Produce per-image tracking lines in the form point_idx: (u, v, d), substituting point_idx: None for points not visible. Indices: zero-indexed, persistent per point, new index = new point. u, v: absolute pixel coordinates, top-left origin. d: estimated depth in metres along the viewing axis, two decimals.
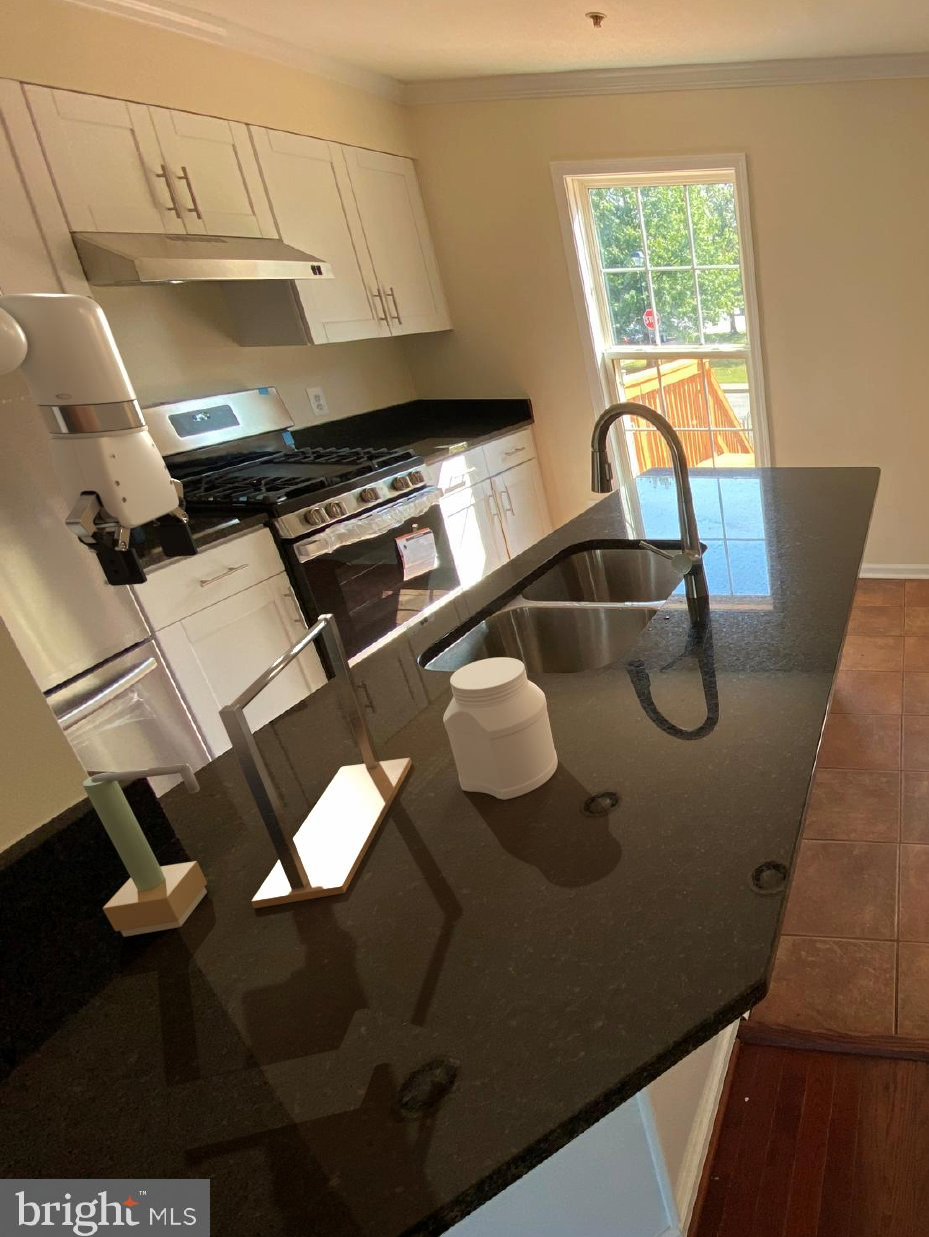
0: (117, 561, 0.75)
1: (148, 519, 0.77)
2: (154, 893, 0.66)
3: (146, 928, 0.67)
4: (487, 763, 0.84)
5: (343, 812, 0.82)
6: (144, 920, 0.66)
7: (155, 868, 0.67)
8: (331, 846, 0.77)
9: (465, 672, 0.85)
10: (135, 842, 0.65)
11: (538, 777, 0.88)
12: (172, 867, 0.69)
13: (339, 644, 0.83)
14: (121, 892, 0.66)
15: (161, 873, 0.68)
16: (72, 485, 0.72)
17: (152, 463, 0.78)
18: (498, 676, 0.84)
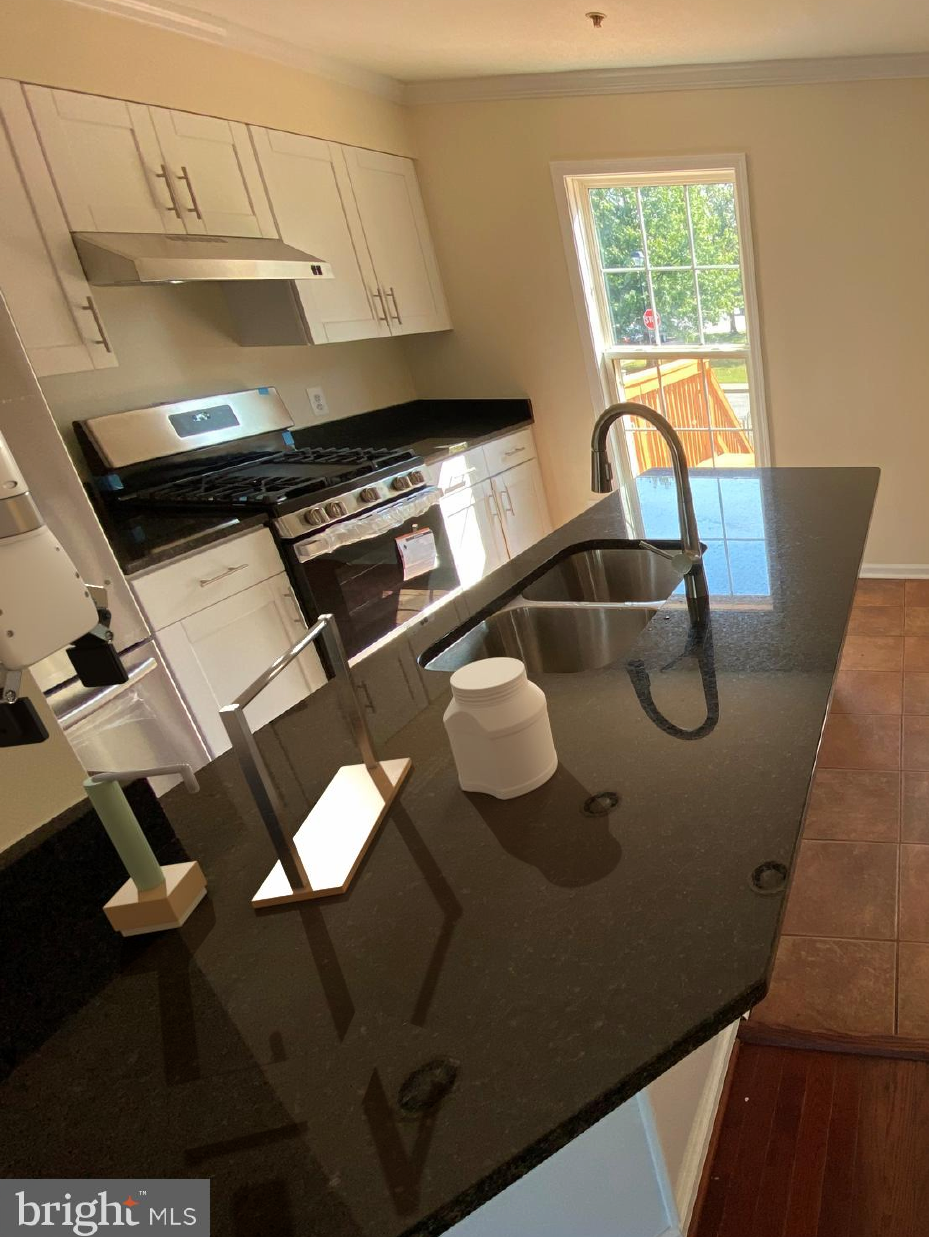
0: (3, 717, 0.54)
1: (50, 652, 0.57)
2: (154, 893, 0.66)
3: (146, 928, 0.67)
4: (487, 763, 0.84)
5: (343, 812, 0.82)
6: (144, 920, 0.66)
7: (155, 868, 0.67)
8: (331, 846, 0.77)
9: (465, 672, 0.85)
10: (135, 842, 0.65)
11: (538, 777, 0.88)
12: (172, 867, 0.69)
13: (339, 644, 0.83)
14: (121, 892, 0.66)
15: (161, 873, 0.68)
16: None
17: (56, 574, 0.58)
18: (498, 676, 0.84)
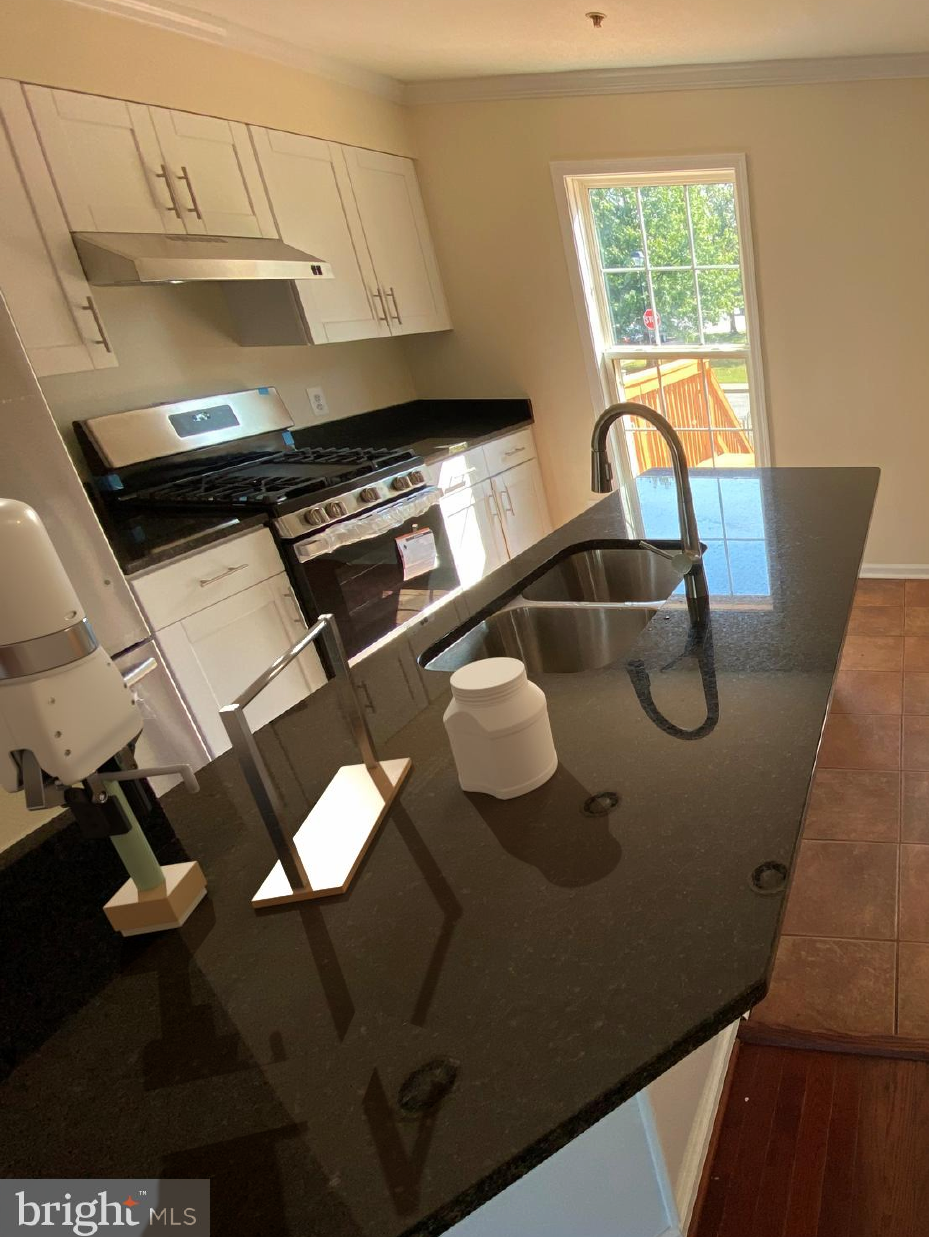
0: (95, 814, 0.62)
1: (101, 763, 0.61)
2: (154, 893, 0.66)
3: (146, 928, 0.67)
4: (487, 763, 0.84)
5: (343, 812, 0.82)
6: (144, 920, 0.66)
7: (155, 868, 0.67)
8: (331, 846, 0.77)
9: (465, 672, 0.85)
10: (135, 842, 0.65)
11: (538, 777, 0.88)
12: (172, 867, 0.69)
13: (339, 644, 0.83)
14: (121, 892, 0.66)
15: (161, 873, 0.68)
16: None
17: (107, 689, 0.62)
18: (498, 676, 0.84)
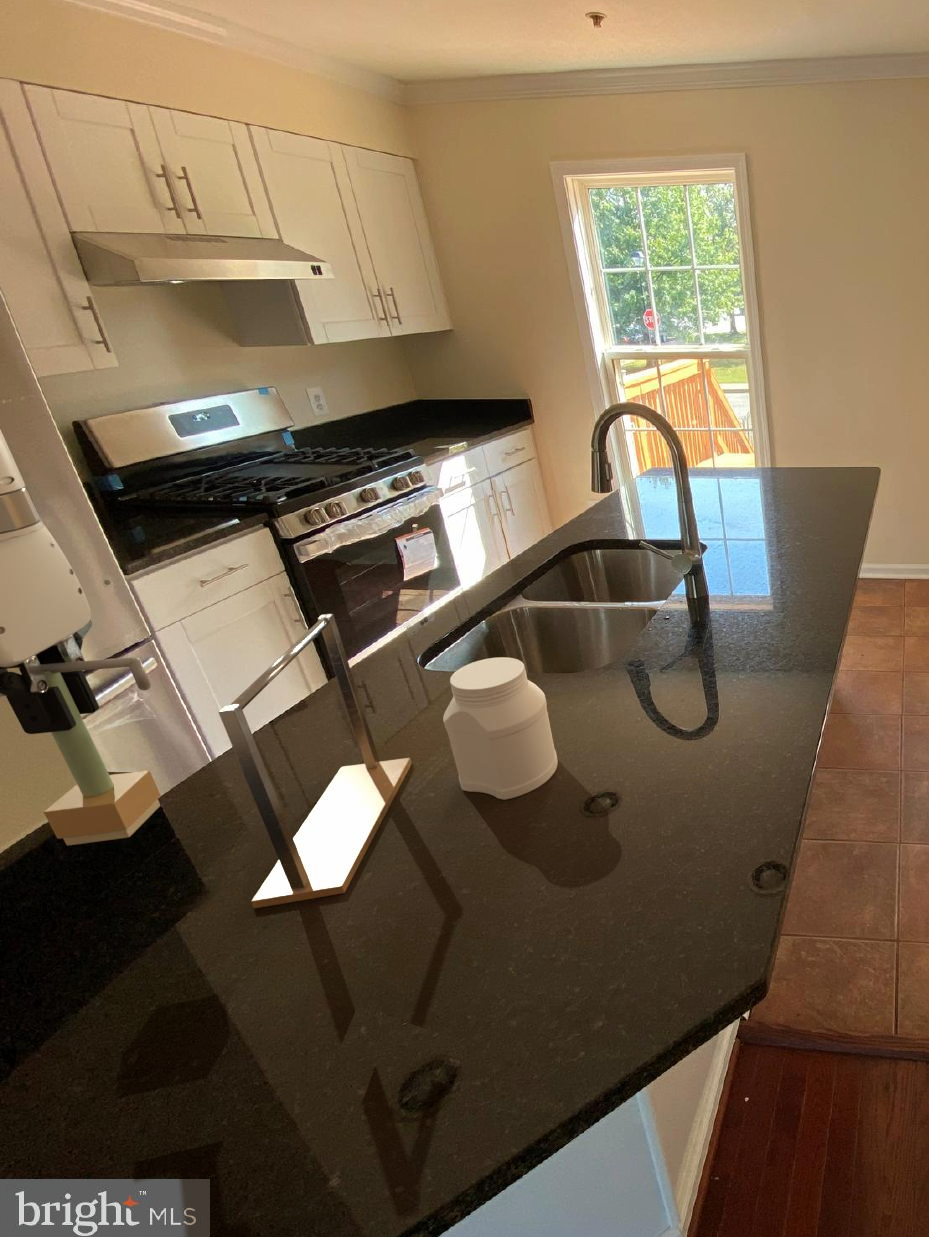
0: (34, 706, 0.57)
1: (41, 649, 0.56)
2: (100, 799, 0.62)
3: (92, 837, 0.62)
4: (487, 763, 0.84)
5: (343, 812, 0.82)
6: (89, 827, 0.62)
7: (103, 773, 0.62)
8: (331, 846, 0.77)
9: (465, 672, 0.85)
10: (80, 742, 0.61)
11: (538, 777, 0.88)
12: (122, 775, 0.65)
13: (339, 644, 0.83)
14: (65, 798, 0.62)
15: (109, 779, 0.63)
16: None
17: (50, 570, 0.57)
18: (498, 676, 0.84)
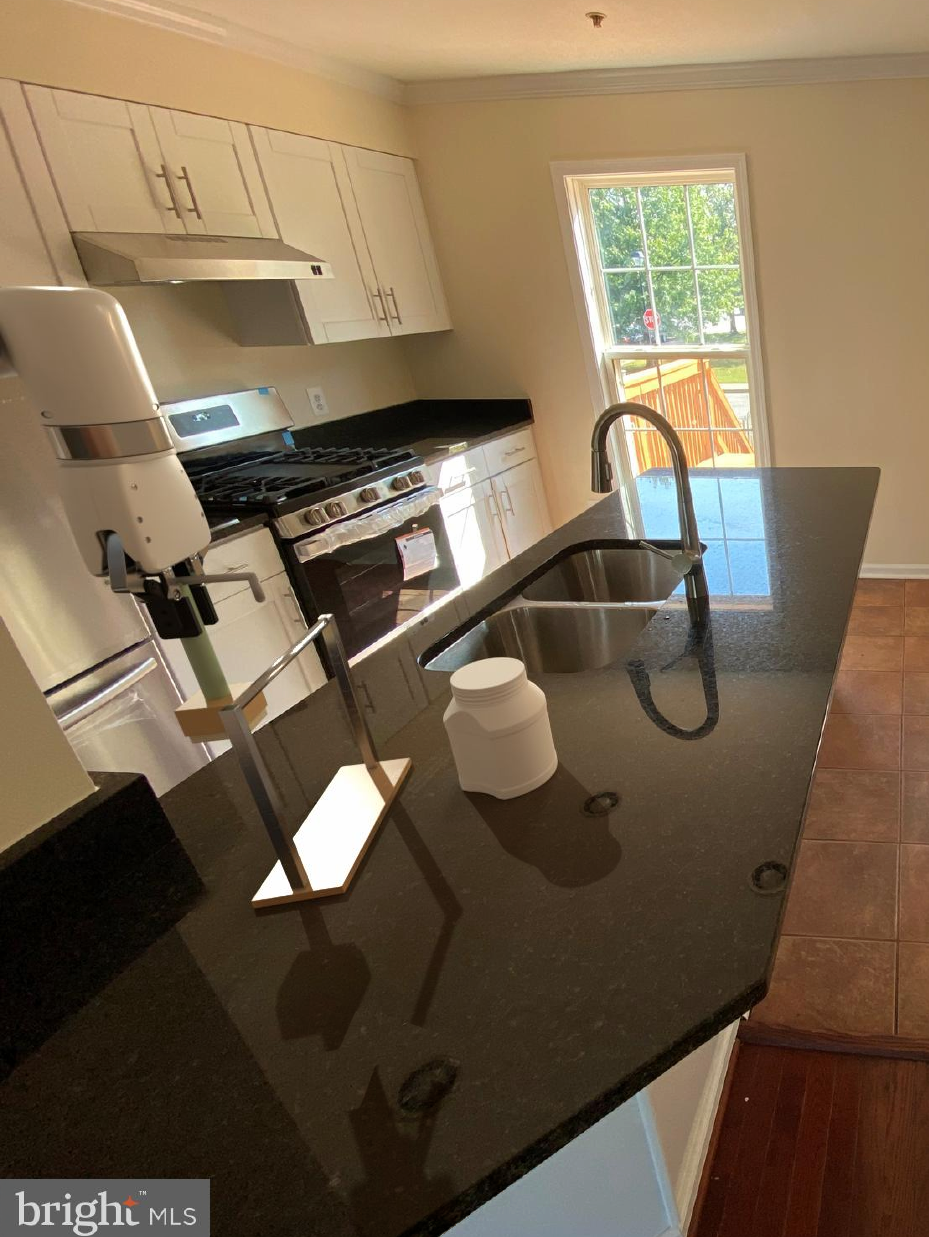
0: (170, 612, 0.65)
1: (176, 561, 0.64)
2: (221, 702, 0.69)
3: (214, 736, 0.70)
4: (487, 763, 0.84)
5: (343, 812, 0.82)
6: (212, 727, 0.69)
7: (222, 679, 0.70)
8: (331, 846, 0.77)
9: (465, 672, 0.85)
10: (204, 649, 0.68)
11: (538, 777, 0.88)
12: (236, 685, 0.72)
13: (339, 644, 0.83)
14: (190, 701, 0.69)
15: (227, 686, 0.71)
16: (85, 523, 0.58)
17: (181, 493, 0.65)
18: (498, 676, 0.84)
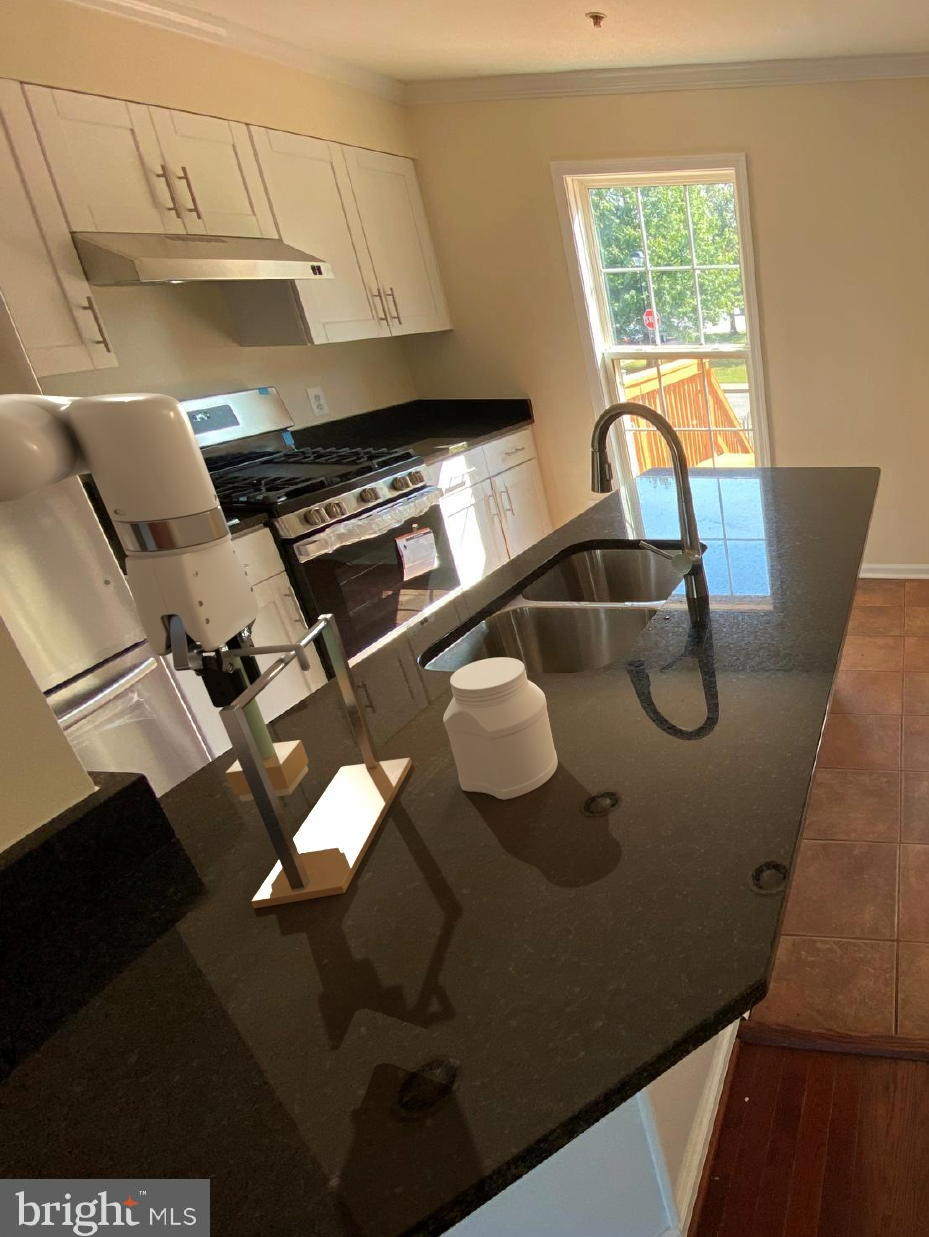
0: (224, 684, 0.69)
1: (230, 637, 0.69)
2: (268, 762, 0.74)
3: None
4: (487, 763, 0.84)
5: (343, 812, 0.82)
6: None
7: (269, 741, 0.75)
8: (331, 846, 0.77)
9: (465, 672, 0.85)
10: (253, 714, 0.73)
11: (538, 777, 0.88)
12: (280, 744, 0.77)
13: (339, 644, 0.83)
14: None
15: (273, 746, 0.76)
16: (151, 609, 0.63)
17: (234, 572, 0.70)
18: (498, 676, 0.84)
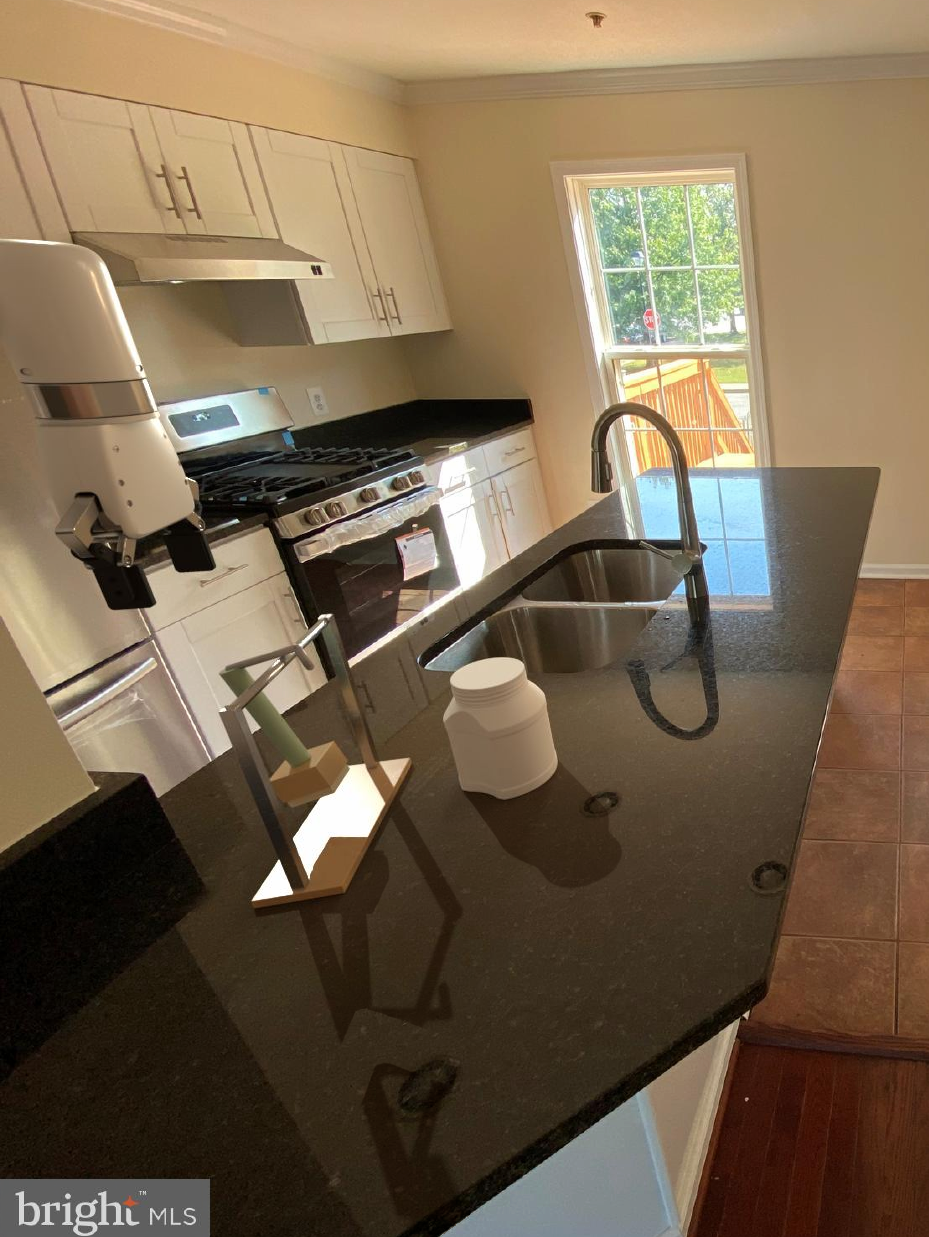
0: (119, 580, 0.60)
1: (158, 527, 0.62)
2: (304, 766, 0.76)
3: (307, 797, 0.76)
4: (487, 763, 0.84)
5: (343, 812, 0.82)
6: (303, 790, 0.76)
7: (300, 745, 0.76)
8: (331, 846, 0.77)
9: (465, 672, 0.85)
10: (276, 722, 0.74)
11: (538, 777, 0.88)
12: (315, 748, 0.79)
13: (339, 644, 0.83)
14: (278, 771, 0.76)
15: (306, 751, 0.77)
16: (64, 485, 0.57)
17: (164, 458, 0.63)
18: (498, 676, 0.84)
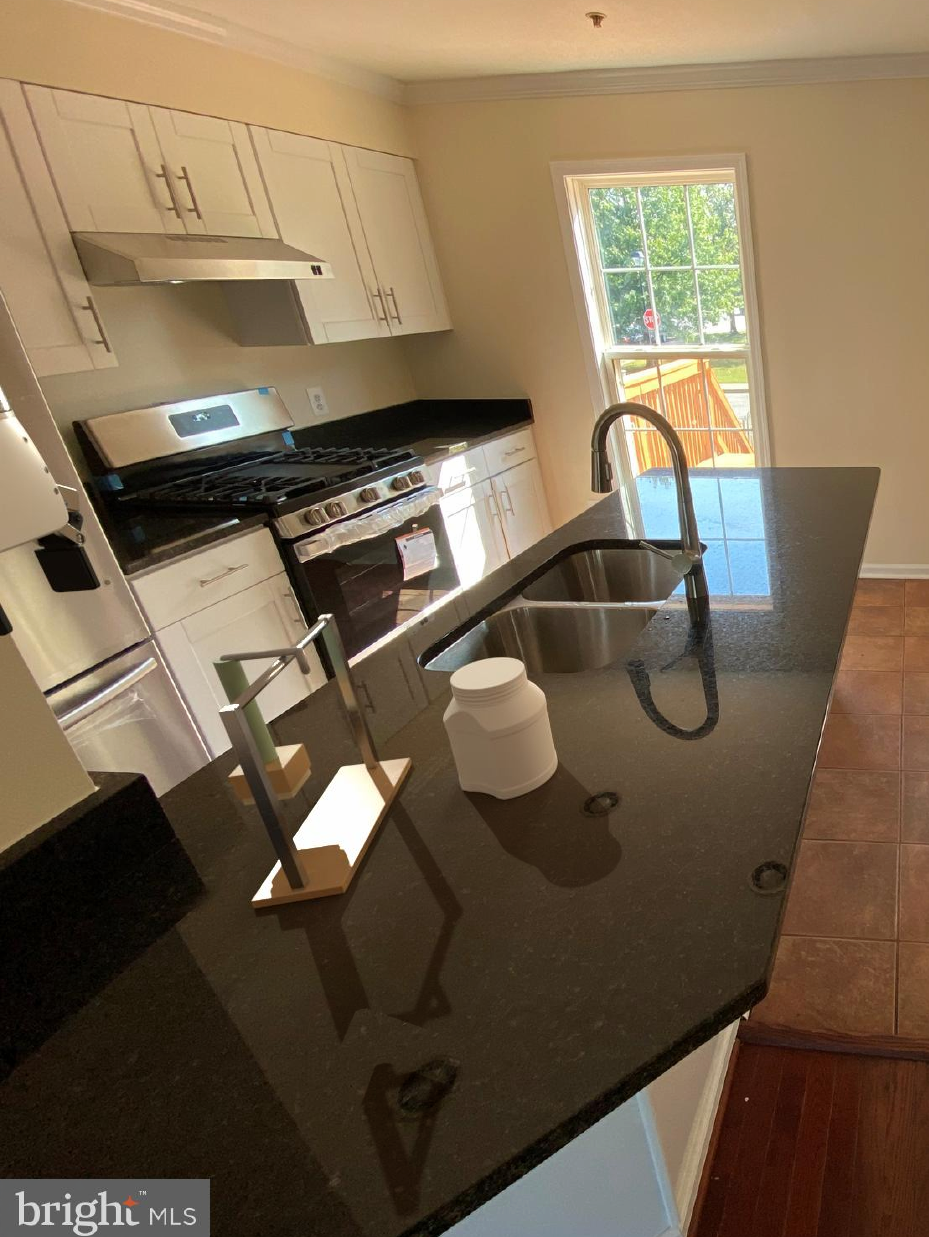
0: None
1: (15, 544, 0.55)
2: (270, 766, 0.75)
3: None
4: (487, 763, 0.84)
5: (343, 812, 0.82)
6: None
7: (271, 744, 0.75)
8: (331, 846, 0.77)
9: (465, 672, 0.85)
10: (255, 718, 0.73)
11: (538, 777, 0.88)
12: (282, 748, 0.78)
13: (339, 644, 0.83)
14: None
15: (275, 750, 0.76)
16: None
17: (23, 464, 0.56)
18: (498, 676, 0.84)
